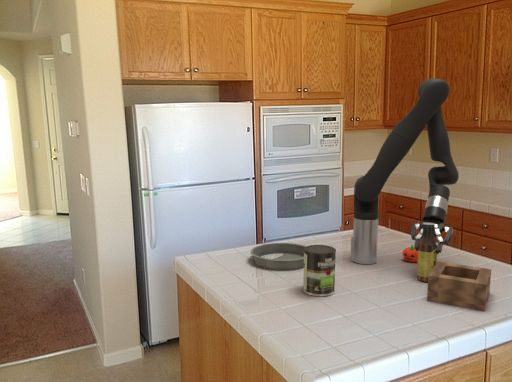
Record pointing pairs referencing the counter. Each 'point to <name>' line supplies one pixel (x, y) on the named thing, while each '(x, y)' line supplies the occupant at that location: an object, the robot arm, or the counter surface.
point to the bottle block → (459, 285)
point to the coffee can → (319, 270)
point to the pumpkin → (410, 254)
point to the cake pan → (287, 261)
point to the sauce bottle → (426, 252)
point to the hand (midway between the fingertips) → (427, 251)
